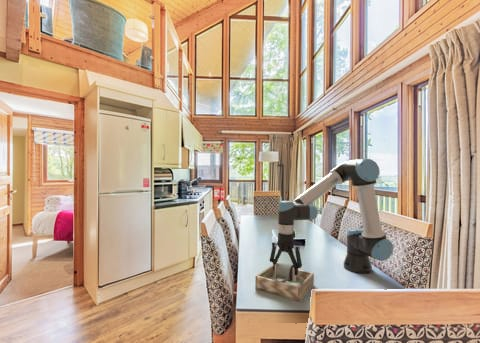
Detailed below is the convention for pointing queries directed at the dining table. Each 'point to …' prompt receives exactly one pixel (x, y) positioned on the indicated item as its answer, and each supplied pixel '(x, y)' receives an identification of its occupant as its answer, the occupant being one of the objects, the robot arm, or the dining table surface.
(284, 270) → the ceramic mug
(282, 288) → the walled box
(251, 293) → the dining table surface
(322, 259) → the dining table surface
